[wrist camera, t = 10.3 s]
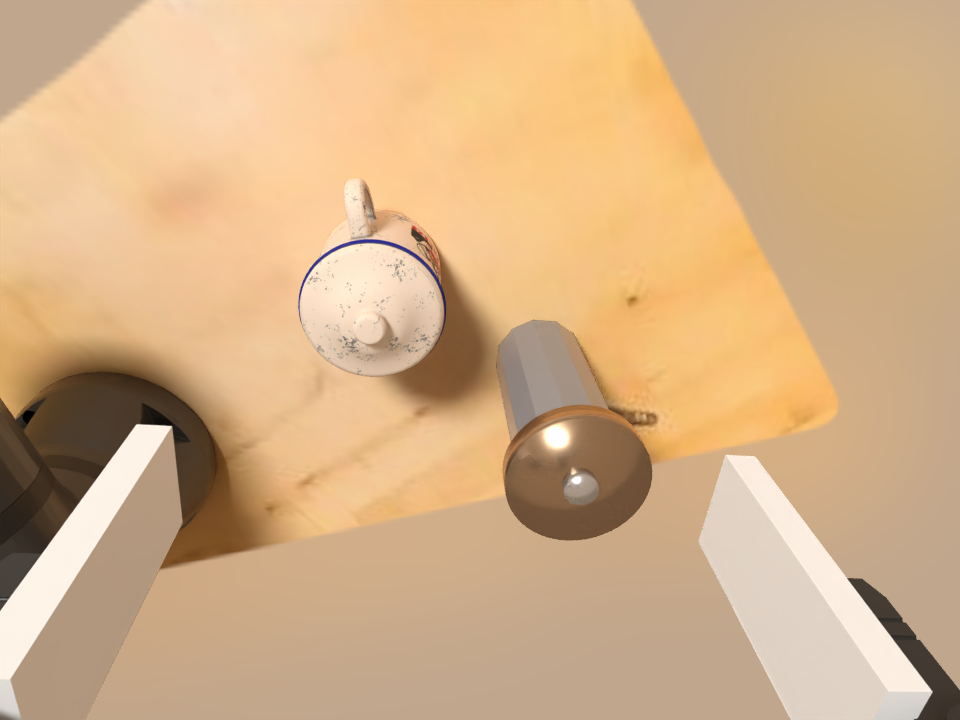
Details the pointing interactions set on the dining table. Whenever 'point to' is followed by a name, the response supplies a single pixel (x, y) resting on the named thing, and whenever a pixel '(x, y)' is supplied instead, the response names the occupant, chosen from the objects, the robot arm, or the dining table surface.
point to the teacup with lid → (373, 291)
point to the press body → (543, 373)
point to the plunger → (576, 472)
